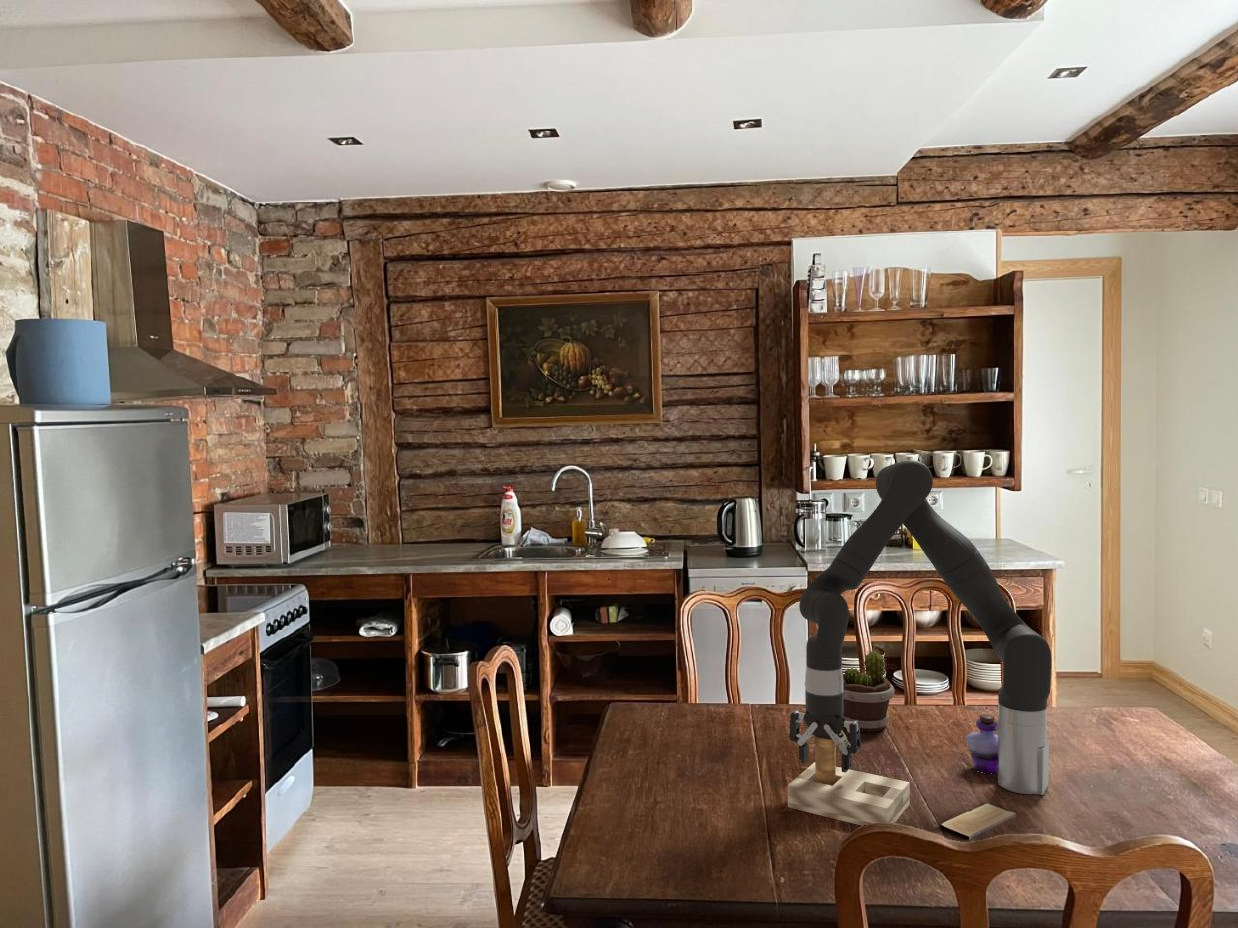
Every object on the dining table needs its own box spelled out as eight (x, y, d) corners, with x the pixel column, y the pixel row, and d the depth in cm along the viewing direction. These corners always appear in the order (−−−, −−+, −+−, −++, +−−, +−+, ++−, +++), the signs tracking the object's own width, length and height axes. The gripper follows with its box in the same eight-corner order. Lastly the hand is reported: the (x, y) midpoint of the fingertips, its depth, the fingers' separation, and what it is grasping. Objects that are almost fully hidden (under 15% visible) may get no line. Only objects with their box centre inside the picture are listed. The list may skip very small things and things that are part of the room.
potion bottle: (1010, 779, 191) (1010, 724, 190) (966, 775, 193) (966, 720, 193) (1006, 764, 199) (1006, 711, 198) (964, 760, 202) (965, 707, 201)
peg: (838, 793, 183) (838, 735, 182) (831, 800, 180) (831, 741, 179) (819, 788, 185) (819, 731, 185) (812, 795, 182) (812, 737, 181)
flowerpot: (853, 739, 216) (853, 657, 215) (822, 718, 230) (822, 641, 229) (906, 732, 219) (906, 651, 218) (873, 712, 234) (872, 637, 233)
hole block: (909, 804, 180) (909, 782, 180) (887, 831, 168) (887, 808, 168) (814, 782, 191) (814, 761, 191) (787, 806, 180) (787, 784, 179)
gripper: (865, 688, 180) (865, 767, 181) (798, 678, 188) (799, 753, 189) (851, 698, 174) (852, 780, 175) (783, 687, 182) (784, 765, 183)
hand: (824, 766), depth 182 cm, fingers open, 8 cm apart
